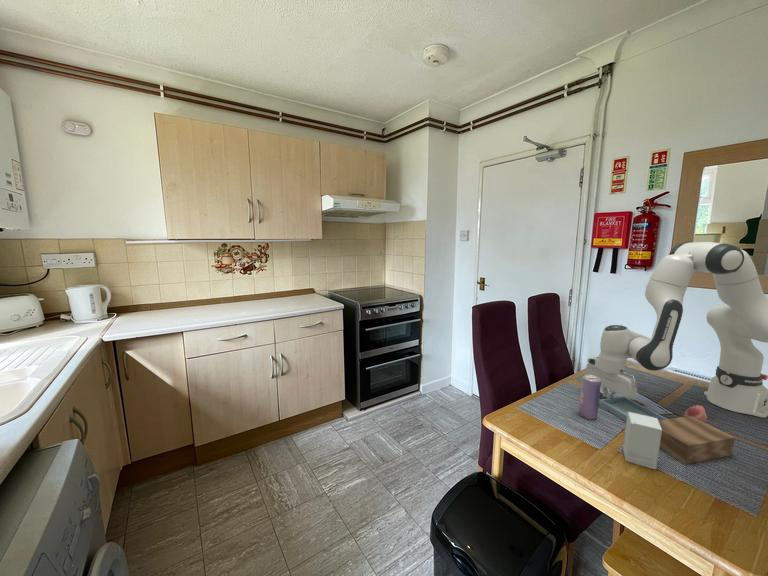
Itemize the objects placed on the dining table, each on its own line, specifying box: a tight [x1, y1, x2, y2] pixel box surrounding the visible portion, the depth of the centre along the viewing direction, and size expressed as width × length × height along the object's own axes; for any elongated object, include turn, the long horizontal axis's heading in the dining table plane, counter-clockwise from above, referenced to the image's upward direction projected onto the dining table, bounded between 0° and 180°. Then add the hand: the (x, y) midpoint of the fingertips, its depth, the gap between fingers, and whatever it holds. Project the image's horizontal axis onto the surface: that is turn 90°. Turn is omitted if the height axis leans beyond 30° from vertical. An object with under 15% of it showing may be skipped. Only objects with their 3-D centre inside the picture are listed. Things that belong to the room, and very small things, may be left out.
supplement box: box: [622, 412, 662, 470], centre depth 96 cm, size 7×7×13 cm
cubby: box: [659, 416, 736, 465], centre depth 102 cm, size 18×12×6 cm, turn 102°
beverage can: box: [578, 374, 602, 420], centre depth 119 cm, size 6×6×15 cm
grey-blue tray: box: [598, 396, 668, 423], centre depth 119 cm, size 12×19×2 cm, turn 12°
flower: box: [682, 404, 708, 423], centre depth 115 cm, size 8×8×6 cm
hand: (607, 397), depth 130 cm, fingers closed
